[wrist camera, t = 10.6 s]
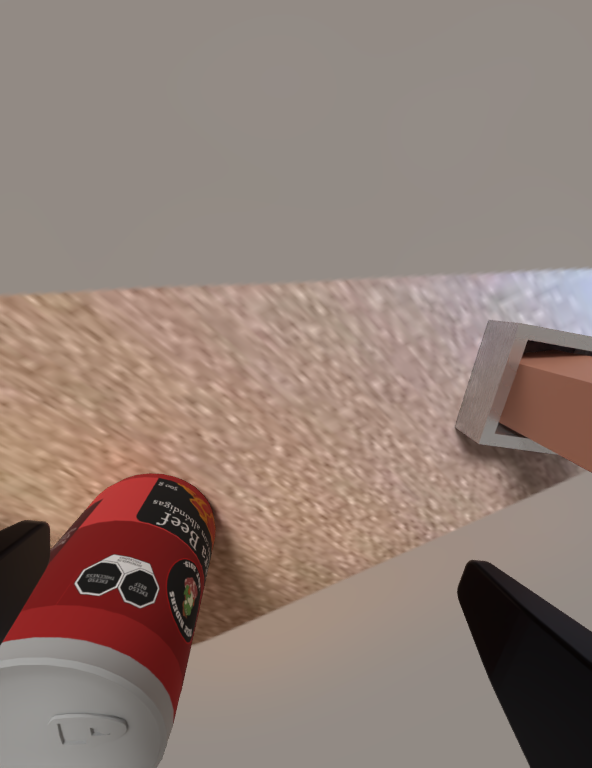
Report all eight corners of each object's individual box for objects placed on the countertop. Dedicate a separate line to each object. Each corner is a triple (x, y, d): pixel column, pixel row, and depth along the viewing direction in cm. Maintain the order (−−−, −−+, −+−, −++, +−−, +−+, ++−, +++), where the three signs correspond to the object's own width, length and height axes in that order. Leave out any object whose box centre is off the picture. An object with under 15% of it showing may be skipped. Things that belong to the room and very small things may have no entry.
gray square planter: (454, 427, 21) (478, 444, 19) (488, 319, 19) (520, 323, 17) (549, 440, 22) (584, 458, 20) (590, 338, 20) (633, 344, 18)
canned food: (232, 550, 22) (199, 780, 12) (121, 581, 22) (-15, 842, 12) (195, 453, 20) (113, 628, 10) (71, 488, 20) (-150, 702, 10)
